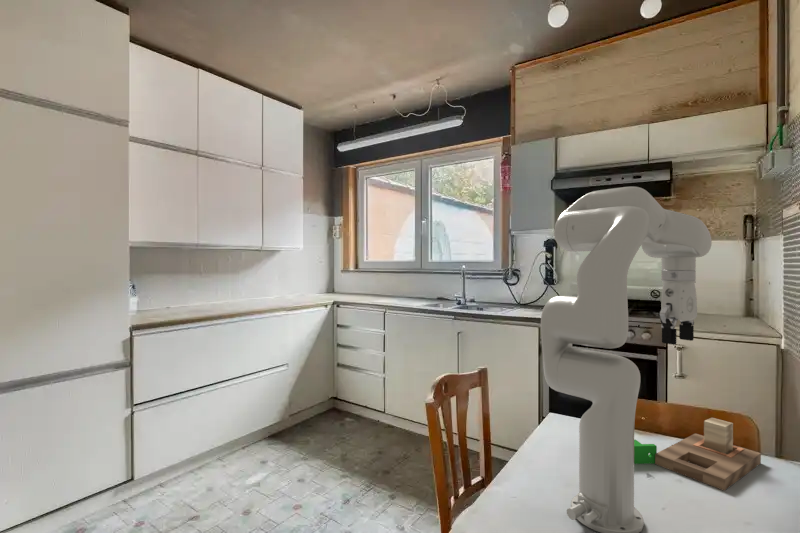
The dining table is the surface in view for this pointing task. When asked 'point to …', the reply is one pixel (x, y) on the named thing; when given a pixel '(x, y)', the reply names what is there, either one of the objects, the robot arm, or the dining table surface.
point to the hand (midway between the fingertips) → (677, 341)
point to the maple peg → (718, 435)
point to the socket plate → (708, 462)
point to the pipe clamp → (644, 453)
